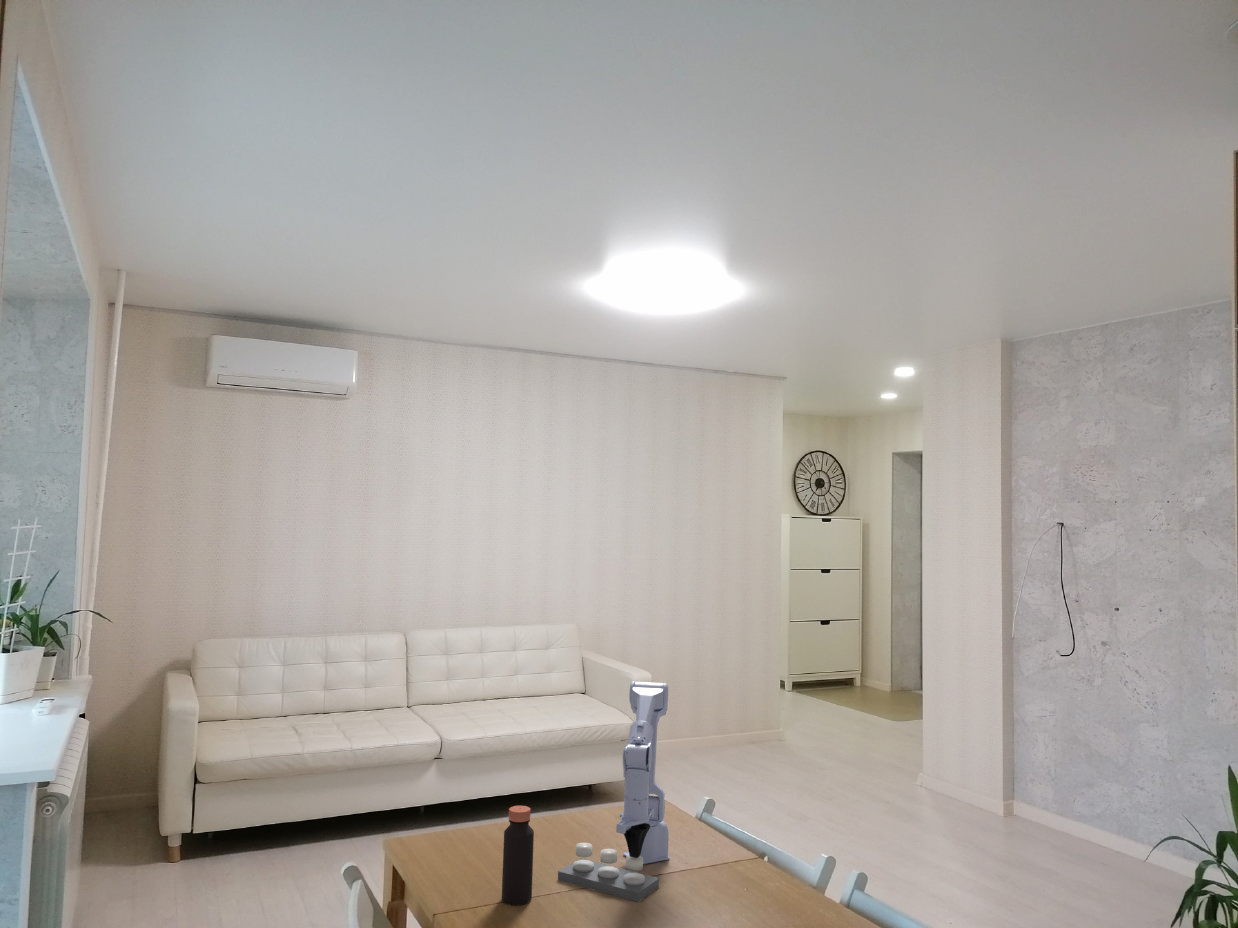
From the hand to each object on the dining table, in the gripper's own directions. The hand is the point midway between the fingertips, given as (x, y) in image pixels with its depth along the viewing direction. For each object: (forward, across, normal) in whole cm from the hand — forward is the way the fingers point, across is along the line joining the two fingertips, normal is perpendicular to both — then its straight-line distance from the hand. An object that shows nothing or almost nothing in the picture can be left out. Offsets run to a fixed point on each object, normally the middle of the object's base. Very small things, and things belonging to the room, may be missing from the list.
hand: (634, 856), depth 205 cm
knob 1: (+2, 0, -14) cm, 14 cm away
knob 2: (+2, 0, -7) cm, 7 cm away
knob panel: (+8, 0, -7) cm, 10 cm away
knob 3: (+2, 0, 0) cm, 2 cm away
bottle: (+8, +19, -19) cm, 29 cm away
